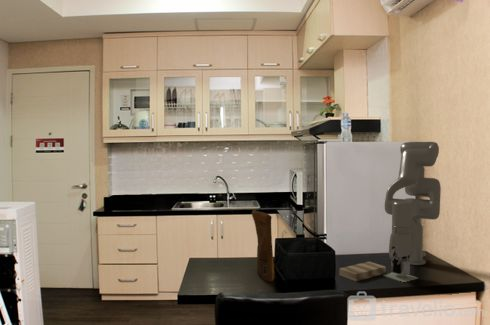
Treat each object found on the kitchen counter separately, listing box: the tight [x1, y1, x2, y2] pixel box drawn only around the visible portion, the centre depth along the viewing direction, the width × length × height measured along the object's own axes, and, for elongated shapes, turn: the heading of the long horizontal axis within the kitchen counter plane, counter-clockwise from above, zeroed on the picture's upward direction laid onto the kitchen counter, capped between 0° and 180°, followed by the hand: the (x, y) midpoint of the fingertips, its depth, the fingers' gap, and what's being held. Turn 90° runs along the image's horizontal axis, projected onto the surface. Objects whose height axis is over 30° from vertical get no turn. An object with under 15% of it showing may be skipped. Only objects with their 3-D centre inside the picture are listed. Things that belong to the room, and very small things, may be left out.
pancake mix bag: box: [251, 209, 275, 283], centre depth 154 cm, size 7×19×28 cm, turn 15°
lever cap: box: [390, 258, 411, 276], centre depth 154 cm, size 4×6×6 cm
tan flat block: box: [338, 261, 387, 282], centre depth 157 cm, size 20×9×3 cm, turn 123°
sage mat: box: [382, 272, 419, 283], centre depth 154 cm, size 10×10×1 cm
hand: (400, 271), depth 154 cm, fingers closed on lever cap, 4 cm apart
